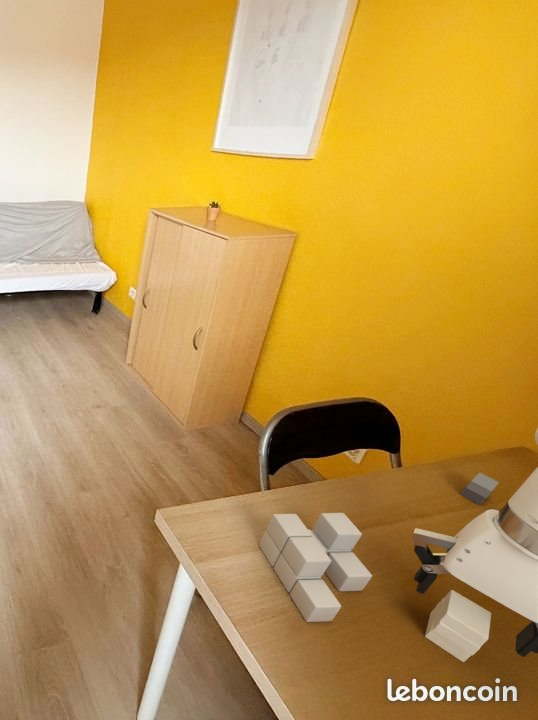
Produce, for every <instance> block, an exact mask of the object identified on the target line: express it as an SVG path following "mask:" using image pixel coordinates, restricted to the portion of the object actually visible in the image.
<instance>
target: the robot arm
mask: <svg viewBox="0 0 538 720" xmlns="http://www.w3.org/2000/svg"><path fill="white" fill-rule="evenodd" d="M534 440H535V443H536V446H538V427H537V428H536V430H535V432H534ZM411 539H412V544H413V548H414V549H413V552H414V554H416V556H417V558H418V560H419V562H420V563H421V565H420V567H419V569H418V570H417V571H416V573H415V574H414V576H413V581H415V582H417V586H416V589H415V592H417V593H419V595H420V594H422V595H424V594H425V593H426V592H427V591H428V589H429V588H430V587H431V586H432V585H433V584H434V583H435V581H436V580H437V578H438V575H452V576H453V577H455V578H456V579H458V580H460V581H461V582H463V583H465V584H466V585H468V586H470V587H471V588H473V589H474V590H477V591H478V592H480V593H482V594H484V595H485V596H487V597H489V598H490V599H492V600H494V601H496V602H497V603H499V604H501V605H503V606H504V607H506V608H508V609H510V610H512V611H513V612H515V613H517V614H518V615H521V616H522V617H524V618H526V619H528V620H530V621H531V622H529V623H528V624H527V625H525V627H524V628H522V629H521V630H520V631H519V632H518V633H517V635H516V636H515V648H514V652H516V654H517V655H519V656H520V657H522V658H525V657H527V656H528V655H529V654H530V653H531V652H533V653H534V654H538V466H537V467H536V468H535V469H534V470H533V471H532V472H531V473H530V475H529V476H527V478H526V480H524V482H523V483H522V484H521V485H520V487H518V489H517V490H516V491H515V492H514V494H512V496H511V497H510V498H509V500H508V501H507V502H506V503H505V504H504V505H503V507H502V508H501V509H500V510H497V509H493V508H492V509H487V510H485V511H484V512H482V513H480V514H479V515H477V516H476V517H474V518H473V519H472V520H470V522H468V523H467V524H466V525H465V526H464V527H462V529H460V530H459V531H458V532H457V533H456V534H455V535H454V536H451V535H447V534H444V533H439V532H435V531H430V530H427V529H422V528H418V527H417V528H413V529H412V532H411ZM428 545H432V546H436V547H438V548H439V547H440V548H444V550H445V552H432V551H431V549H430V547H429V546H428Z"/></svg>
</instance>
